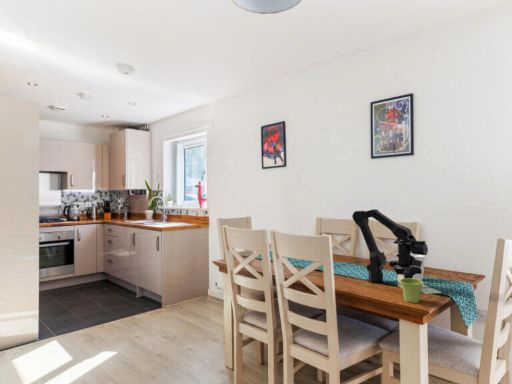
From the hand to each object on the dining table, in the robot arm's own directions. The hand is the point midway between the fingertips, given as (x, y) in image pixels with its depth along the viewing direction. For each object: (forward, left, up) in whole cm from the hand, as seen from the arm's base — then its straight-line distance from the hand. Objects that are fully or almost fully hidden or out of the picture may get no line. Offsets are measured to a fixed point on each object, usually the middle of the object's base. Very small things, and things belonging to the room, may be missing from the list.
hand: (405, 284), depth 165 cm
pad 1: (+7, +1, -2) cm, 7 cm away
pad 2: (+7, -8, -2) cm, 11 cm away
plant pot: (-9, -19, -2) cm, 21 cm away
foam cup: (+14, +12, -2) cm, 19 cm away
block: (0, 0, -2) cm, 2 cm away
